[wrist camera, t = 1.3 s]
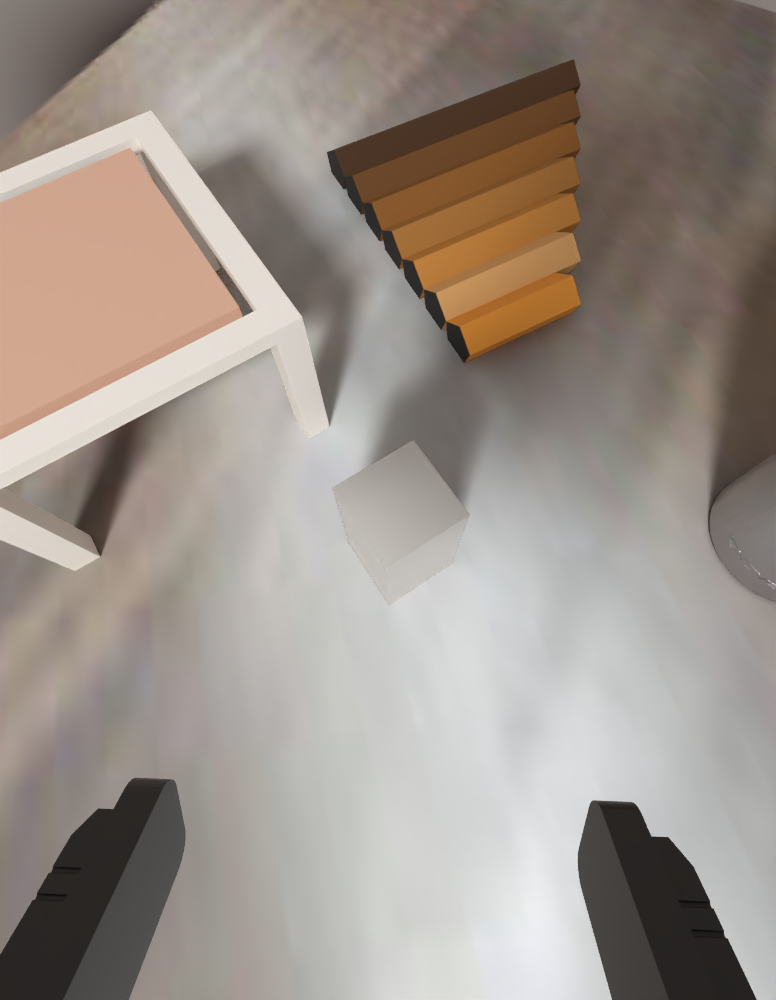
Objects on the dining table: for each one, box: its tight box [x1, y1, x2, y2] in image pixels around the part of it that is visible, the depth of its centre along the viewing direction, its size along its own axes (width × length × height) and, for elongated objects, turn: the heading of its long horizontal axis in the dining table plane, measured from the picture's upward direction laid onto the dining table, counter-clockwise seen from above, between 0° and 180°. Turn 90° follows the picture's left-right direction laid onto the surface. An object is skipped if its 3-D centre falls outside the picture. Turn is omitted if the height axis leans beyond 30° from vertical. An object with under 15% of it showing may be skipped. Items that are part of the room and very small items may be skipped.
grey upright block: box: [332, 440, 470, 605], centre depth 31 cm, size 5×5×10 cm
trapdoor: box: [0, 148, 243, 440], centre depth 30 cm, size 15×15×1 cm
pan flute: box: [327, 60, 581, 363], centre depth 46 cm, size 25×3×25 cm
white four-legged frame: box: [0, 111, 329, 571], centre depth 35 cm, size 20×20×12 cm
